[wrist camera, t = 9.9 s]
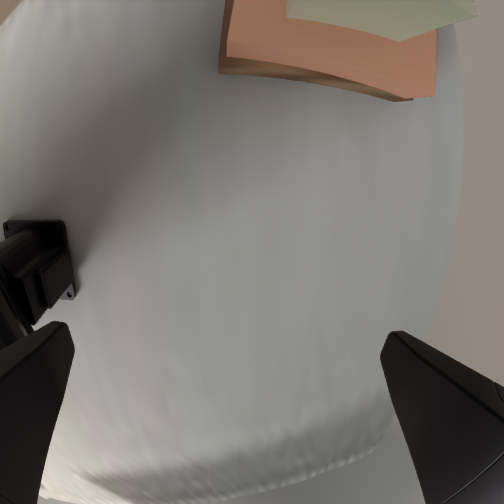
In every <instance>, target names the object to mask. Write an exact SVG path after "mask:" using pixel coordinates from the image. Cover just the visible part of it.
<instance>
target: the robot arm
mask: <svg viewBox="0 0 504 504" xmlns="http://www.w3.org/2000/svg"><path fill="white" fill-rule="evenodd" d="M57 225H59V226H60V230H59V229H58V227H57ZM8 226H9V228H8ZM3 230H4V235H5V240H3V241H2V242H0V504H37V500H38V494H39V489H40V484H41V479H42V474H43V470H44V465H45V461H46V457H47V453H48V449H49V445H50V442H51V438H52V434H53V431H54V427H55V424H56V421H57V417H58V414H59V411H60V408H61V405H62V401H63V398H64V394H65V390H66V386H67V381H68V377H69V373H70V369H71V365H72V361H73V357H74V353H75V347H74V343H73V340H72V337H71V334H70V331H69V327H68V325H67V324H66V323H64V322H59V321H52V322H50V323H49V324H47V325H45V326H43V327H41V328H40V329H38V330H36V331H34V330H33V328H32V326H31V325H35V324H36V323H37V322H38V320H39V319H40V318H41V316H42V315H43V314H44V313H45V311H46V310H47V309H51V308H52V307H53V306H54V304H55V303H56V302H57V301H58V299H64V300H73V299H74V298H75V297H76V289H75V284H74V273H73V268H72V262H71V256H70V250H69V249H68V244H67V236H66V228H65V224H64V222H63V221H61V220H7V221H6V222H4V224H3ZM69 292H70V293H71V294H72V295H70V294H69ZM380 360H381V364H382V368H383V371H384V375H385V378H386V382H387V386H388V389H389V393H390V397H391V400H392V403H393V406H394V409H395V412H396V415H397V417H398V420H399V423H400V425H401V428H402V431H403V433H404V437H405V440H406V442H407V445H408V448H409V451H410V454H411V457H412V460H413V463H414V466H415V469H416V473H417V476H418V479H419V482H420V486H421V489H422V492H423V496H424V499H425V503H426V504H504V387H503V386H501V385H499V384H498V383H496V382H493V381H492V380H490V379H489V378H487V377H485V376H483V375H481V374H479V373H478V372H476V371H474V370H472V369H470V368H469V367H467V366H465V365H463V364H462V363H460V362H458V361H456V360H454V359H453V358H451V357H449V356H447V355H445V354H444V353H442V352H440V351H438V350H437V349H435V348H433V347H431V346H430V345H428V344H426V343H424V342H422V341H421V340H419V339H417V338H415V337H413V336H412V335H410V334H408V333H406V332H404V331H392V332H390V333H389V334H388V336H387V339H386V341H385V344H384V346H383V349H382V351H381V355H380Z"/></svg>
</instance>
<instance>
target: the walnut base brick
mask: <svg viewBox="0 0 504 504" xmlns="http://www.w3.org/2000/svg"><path fill="white" fill-rule="evenodd" d="M233 5H234V0H225V9H224V17H223V25H222V34H221V44H220V54H219V64H218V66H219V74H238V75H252V76H263V77H273V78H281V79H289V80H296V81H303V82H309V83H315V84H321V85H326V86H331V87H336V88H341V89H346V90H350V91H355V92H359V93H363V94H367V95H371V96H375V97H379V98H382V99H386V100H389V101H393V102H398V101H410V100H413V98H406V99H405V98H403V97H400V96H397V95H395V94H392V93H389V92H386V91H384V90H381V89H378V88H375V87H372V86H369V85H365V84H362V83H359V82H356V81H352V80H349V79H345V78H341V77H338V76H334V75H330V74H326V73H322V72H318V71H313V70H309V69H304V68H300V67H295V66H289V65H284V64H278V63H272V62H266V61H259V60H252V59H244V58H235V57H227V38H228V32H229V27H230V21H231V15H232V10H233Z"/></svg>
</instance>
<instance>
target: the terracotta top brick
mask: <svg viewBox="0 0 504 504" xmlns="http://www.w3.org/2000/svg"><path fill="white" fill-rule="evenodd" d="M227 57H235V58H244V59H252V60H259V61H266V62H272V63H278V64H284V65H289V66H295V67H300V68H304V69H309V70H313V71H318V72H322V73H326V74H330V75H334V76H338V77H341V78H345V79H349V80H352V81H356V82H359V83H362V84H365V85H369V86H372V87H375V88H378V89H381V90H384V91H386V92H389V93H392V94H395V95H397V96H400V97H403V98H405V99H406V98H418V97H432V96H434V92H435V77H436V29H434V30H431V31H428V32H425V33H423V34H420V35H417V36H414V37H412V38H409V39H406V40H404V41H401V42H398V41H395V40H392V39H388V38H385V37H382V36H378V35H375V34H371V33H367V32H364V31H360V30H355V29H351V28H347V27H342V26H338V25H333V24H327V23H322V22H316V21H309V20H303V19H295V18H287V17H286V0H234V5H233V10H232V15H231V21H230V27H229V32H228V38H227Z"/></svg>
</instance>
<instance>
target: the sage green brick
mask: <svg viewBox="0 0 504 504" xmlns="http://www.w3.org/2000/svg"><path fill="white" fill-rule="evenodd" d="M286 17H287V18H295V19H303V20H309V21H316V22H322V23H327V24H333V25H338V26H342V27H347V28H351V29H355V30H360V31H364V32H367V33H371V34H375V35H378V36H382V37H385V38H388V39H392V40H395V41H398V42H401V41H404V40H406V39H409V38H412V37H414V36H417V35H420V34H423V33H425V32H428V31H431V30H434V29H437V28H440V27H444V26H447V25H450V24H453V23H457V22H460V21H464V20H467V19H471V18H475V17H477V12H476V7H475V3H474V0H286Z"/></svg>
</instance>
